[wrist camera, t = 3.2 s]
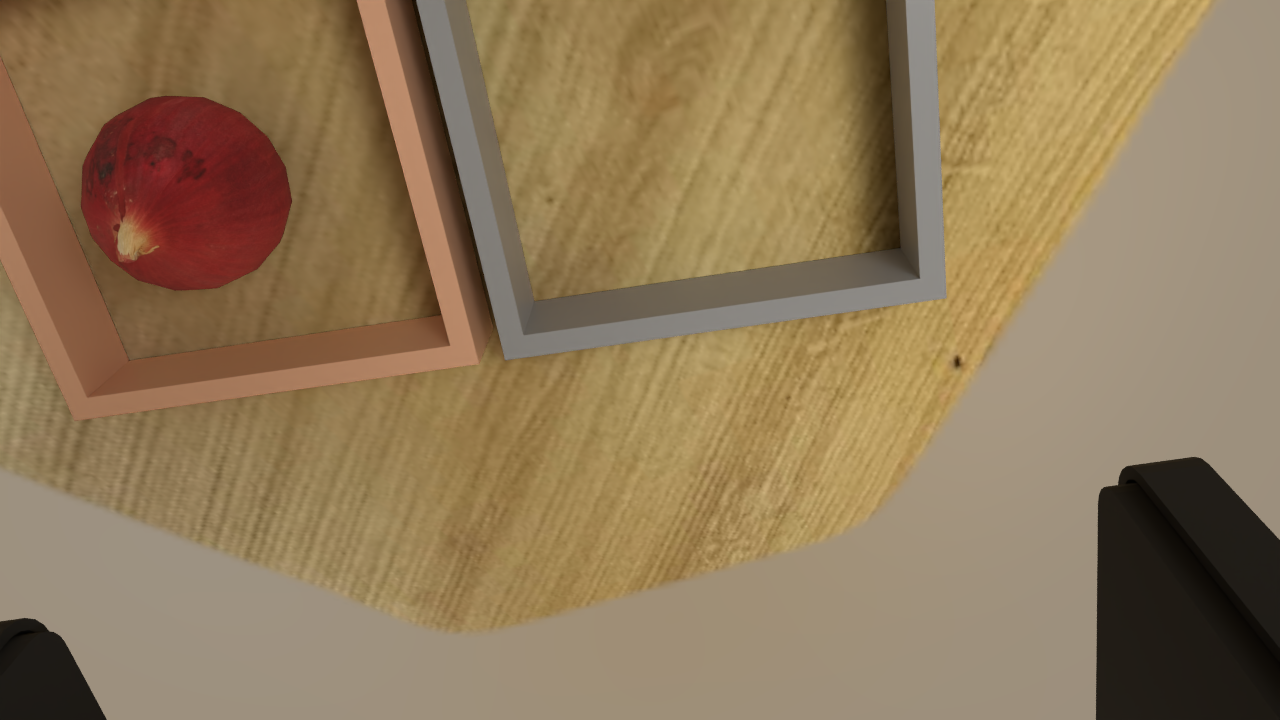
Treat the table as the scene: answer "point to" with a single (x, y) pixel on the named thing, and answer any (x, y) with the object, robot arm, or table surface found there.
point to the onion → (184, 193)
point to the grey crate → (711, 297)
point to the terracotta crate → (112, 385)
